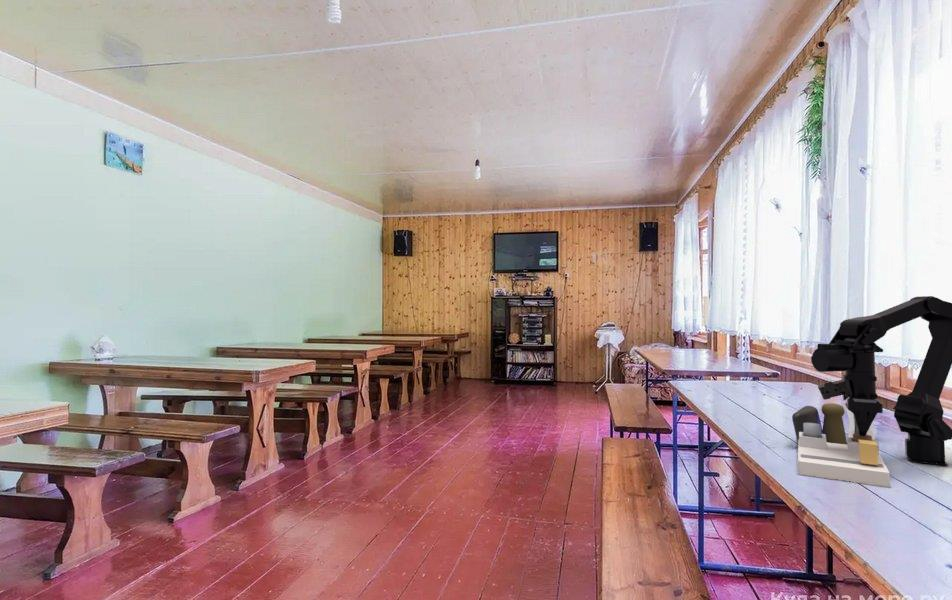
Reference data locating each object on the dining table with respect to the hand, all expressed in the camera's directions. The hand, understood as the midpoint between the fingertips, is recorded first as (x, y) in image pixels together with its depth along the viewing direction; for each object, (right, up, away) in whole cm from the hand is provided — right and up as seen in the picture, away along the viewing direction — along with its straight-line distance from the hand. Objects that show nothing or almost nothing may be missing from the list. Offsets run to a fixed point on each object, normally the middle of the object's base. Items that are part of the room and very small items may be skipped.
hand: (862, 435), depth 118 cm
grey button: (-8, -2, +5) cm, 10 cm away
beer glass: (+17, -7, +22) cm, 29 cm away
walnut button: (0, -3, 0) cm, 3 cm away
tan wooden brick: (-7, -3, -10) cm, 12 cm away
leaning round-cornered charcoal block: (-1, -7, +17) cm, 19 cm away
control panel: (-7, -7, -2) cm, 10 cm away
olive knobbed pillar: (+6, -7, +18) cm, 20 cm away
